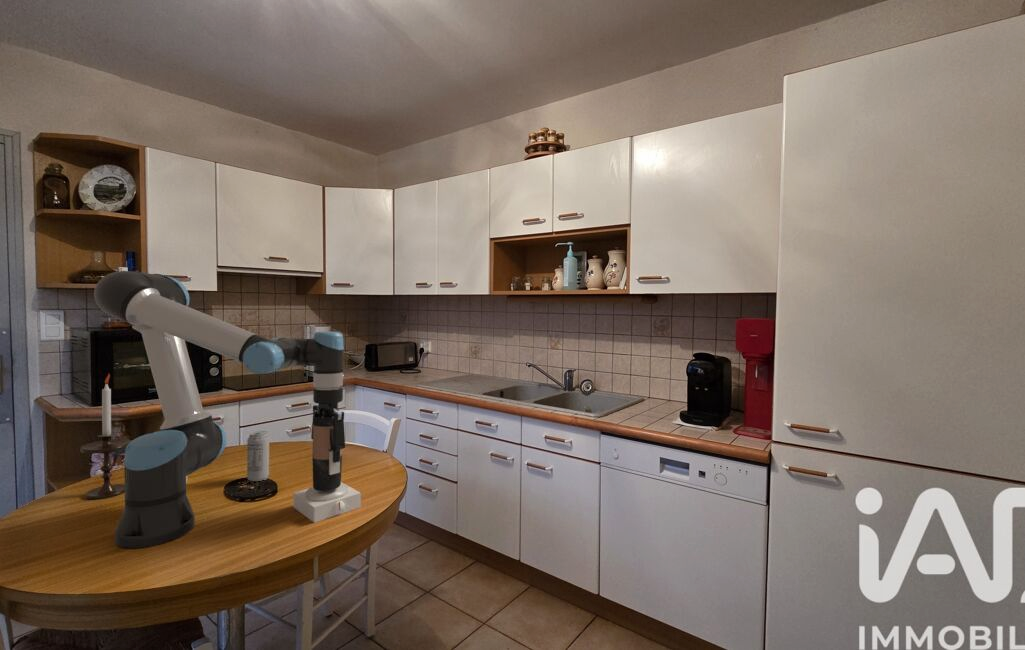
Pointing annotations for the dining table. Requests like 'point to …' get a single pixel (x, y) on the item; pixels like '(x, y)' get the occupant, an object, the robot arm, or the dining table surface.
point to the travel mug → (323, 455)
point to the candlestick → (106, 451)
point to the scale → (326, 502)
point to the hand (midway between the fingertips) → (327, 469)
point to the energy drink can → (258, 456)
